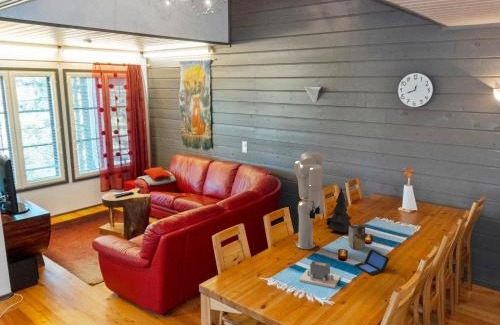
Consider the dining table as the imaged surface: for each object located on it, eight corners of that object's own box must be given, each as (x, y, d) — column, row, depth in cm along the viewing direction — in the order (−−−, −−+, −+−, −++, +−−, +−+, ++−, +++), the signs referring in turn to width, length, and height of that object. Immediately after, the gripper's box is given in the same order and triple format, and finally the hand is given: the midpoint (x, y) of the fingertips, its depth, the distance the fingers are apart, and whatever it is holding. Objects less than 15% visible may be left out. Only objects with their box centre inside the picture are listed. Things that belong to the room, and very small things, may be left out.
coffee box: (359, 246, 272) (360, 223, 269) (364, 249, 266) (365, 226, 263) (347, 247, 270) (348, 225, 267) (352, 251, 264) (353, 228, 261)
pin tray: (306, 271, 235) (306, 265, 234) (340, 277, 226) (340, 271, 225) (299, 281, 222) (299, 275, 222) (334, 288, 214) (334, 282, 213)
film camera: (343, 223, 318) (343, 213, 316) (345, 228, 308) (346, 217, 307) (324, 223, 319) (324, 213, 317) (326, 227, 309) (326, 216, 307)
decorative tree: (345, 237, 287) (347, 191, 281) (326, 233, 296) (327, 188, 289) (352, 232, 299) (354, 187, 293) (334, 228, 307) (336, 184, 301)
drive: (312, 273, 228) (313, 260, 227) (329, 277, 224) (330, 263, 223) (310, 277, 224) (310, 263, 223) (327, 280, 220) (327, 267, 218)
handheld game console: (353, 266, 240) (354, 252, 239) (370, 262, 246) (371, 248, 245) (371, 277, 227) (372, 262, 225) (389, 272, 232) (389, 258, 231)
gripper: (313, 184, 241) (312, 211, 244) (304, 190, 225) (304, 219, 228) (325, 185, 237) (324, 212, 240) (317, 192, 222) (316, 221, 225)
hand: (314, 216), depth 234 cm, fingers open, 9 cm apart
